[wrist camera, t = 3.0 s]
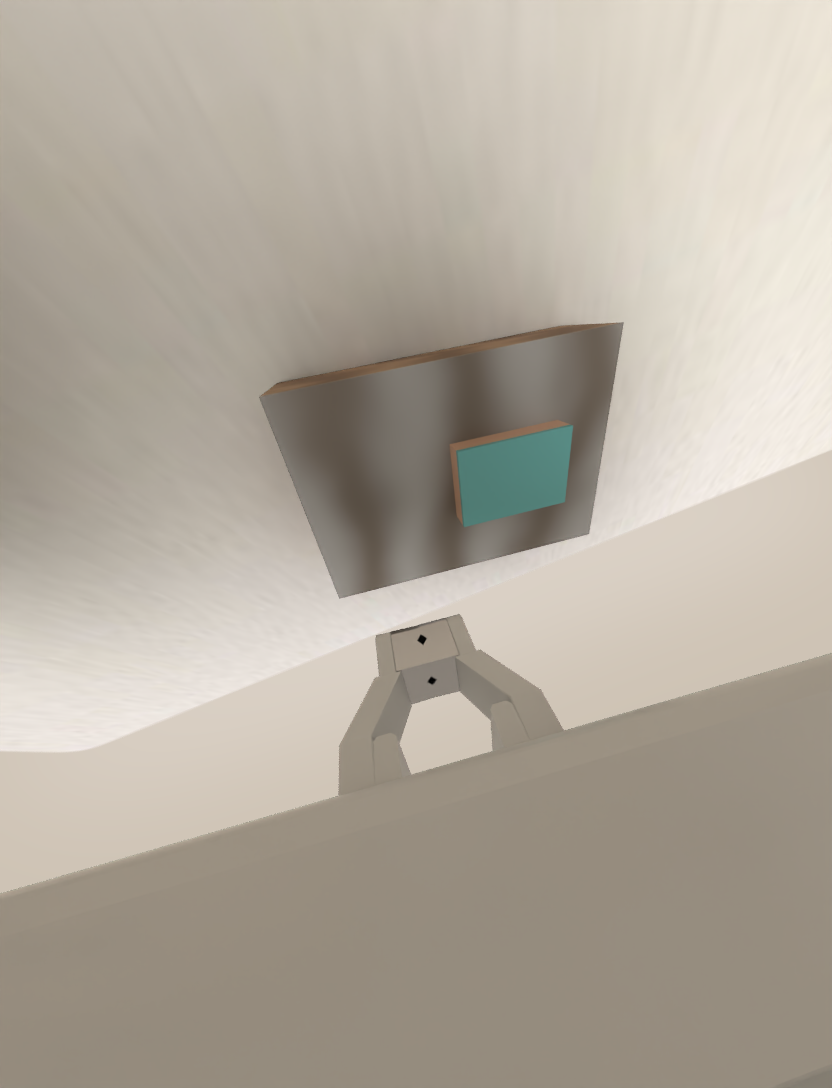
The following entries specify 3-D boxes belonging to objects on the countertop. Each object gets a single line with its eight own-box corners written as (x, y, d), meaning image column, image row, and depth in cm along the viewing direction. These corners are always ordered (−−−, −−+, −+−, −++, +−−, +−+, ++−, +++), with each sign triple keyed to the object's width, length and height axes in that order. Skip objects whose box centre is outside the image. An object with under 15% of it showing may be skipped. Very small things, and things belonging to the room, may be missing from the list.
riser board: (339, 554, 29) (339, 598, 24) (277, 383, 21) (259, 397, 16) (548, 502, 31) (588, 534, 26) (561, 325, 23) (623, 322, 18)
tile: (456, 515, 22) (464, 527, 21) (449, 444, 20) (457, 452, 18) (551, 492, 23) (564, 502, 22) (557, 419, 20) (573, 425, 19)
